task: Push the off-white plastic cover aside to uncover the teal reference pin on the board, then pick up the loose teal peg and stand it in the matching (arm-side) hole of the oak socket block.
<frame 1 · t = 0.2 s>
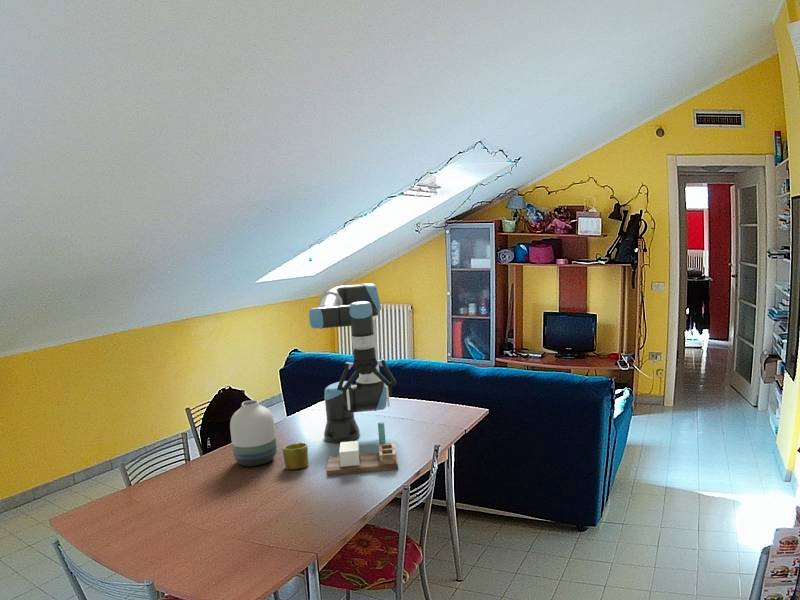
hand: (368, 407, 213), 27 cm above the table, fingers open, 13 cm apart
vase: (256, 461, 244), on the table
mug: (298, 465, 237), on the table
board: (362, 465, 231), on the table
cover: (349, 453, 230), point 5 cm above the table, slide at 0.0 cm
peg: (383, 452, 243), on the table
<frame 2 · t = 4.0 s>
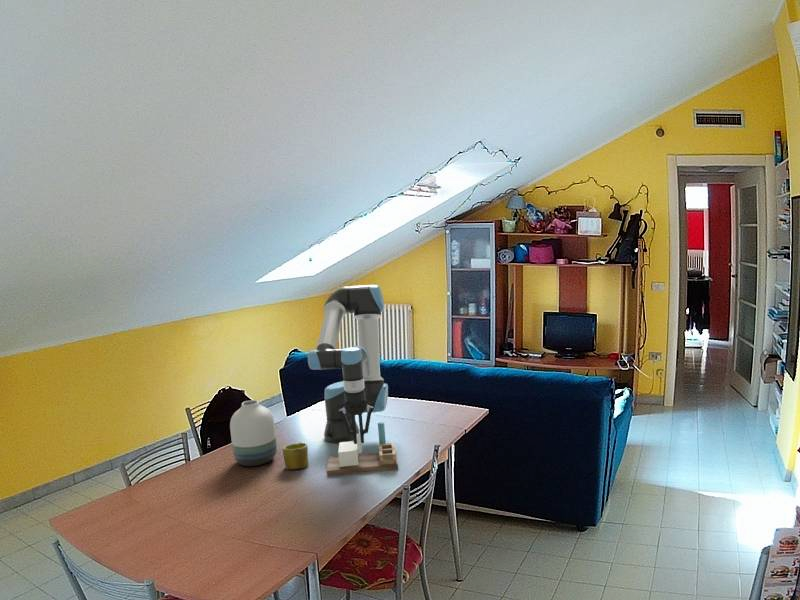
hand: (359, 451, 229), 6 cm above the table, fingers closed
cover: (348, 453, 230), point 5 cm above the table, slide at 0.4 cm, touching gripper
everything else where it was.
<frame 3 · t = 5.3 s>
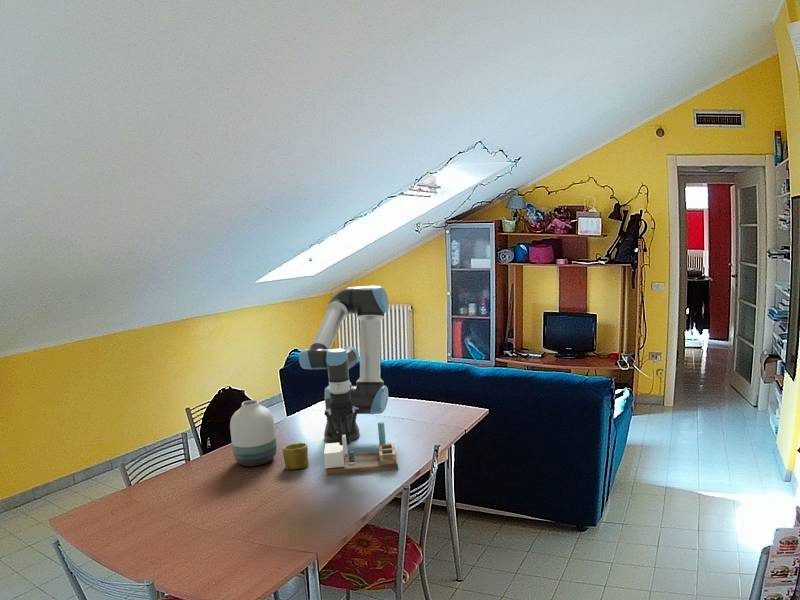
hand: (345, 452, 228), 6 cm above the table, fingers closed
cover: (334, 454, 230), point 5 cm above the table, slide at 5.7 cm, touching gripper
everything else where it was.
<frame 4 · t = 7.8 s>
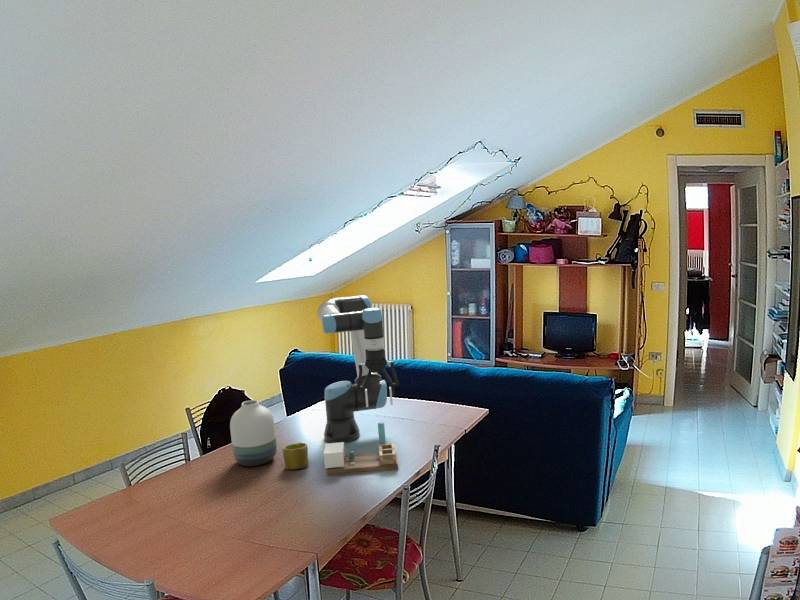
hand: (379, 405, 240), 19 cm above the table, fingers open, 9 cm apart
cover: (334, 454, 230), point 5 cm above the table, slide at 5.7 cm
everything else where it was.
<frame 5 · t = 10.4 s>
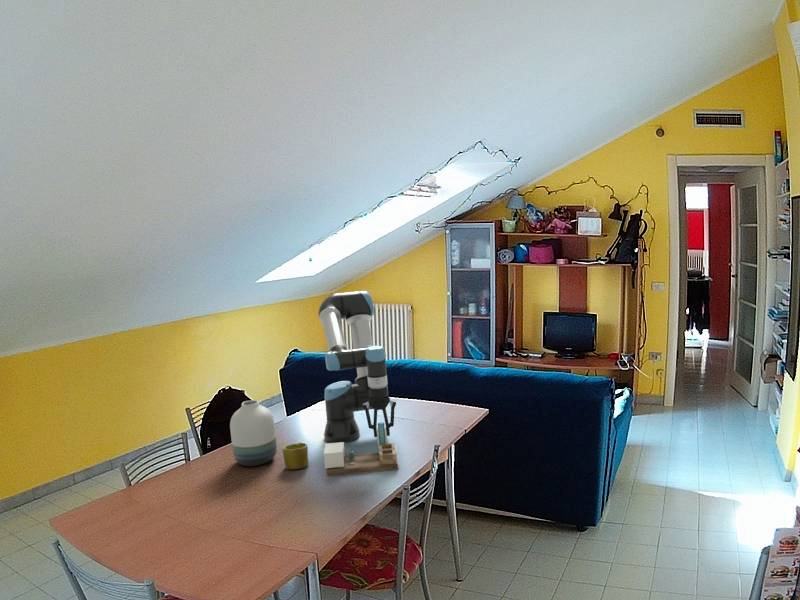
hand: (382, 444, 242), 4 cm above the table, fingers closed on peg, 2 cm apart
peg: (383, 452, 243), on the table, touching gripper
everything else where it was.
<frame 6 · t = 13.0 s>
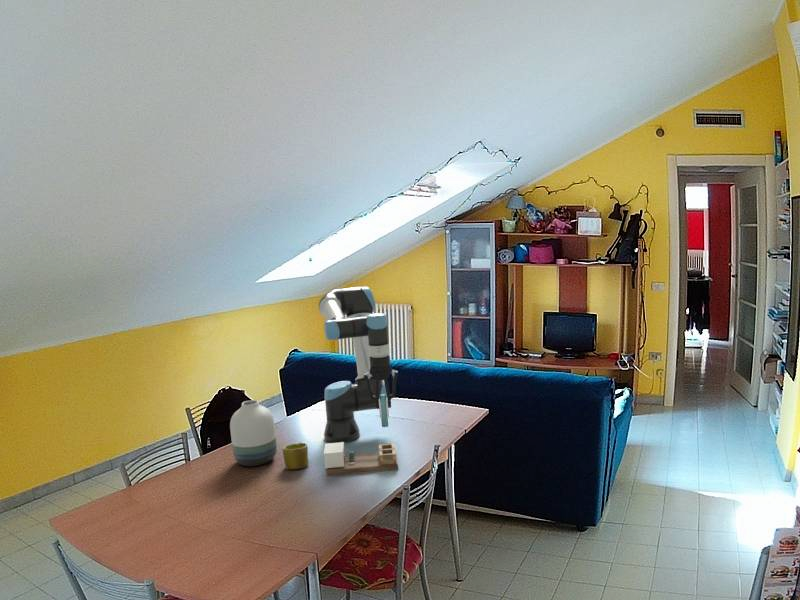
hand: (384, 416, 232), 18 cm above the table, fingers closed on peg, 2 cm apart
peg: (385, 426, 232), point 14 cm above the table, touching gripper
everything else where it was.
when the fingers open (7 cm above the table, at t = 15.4 s): peg drops 1 cm, resting on board.
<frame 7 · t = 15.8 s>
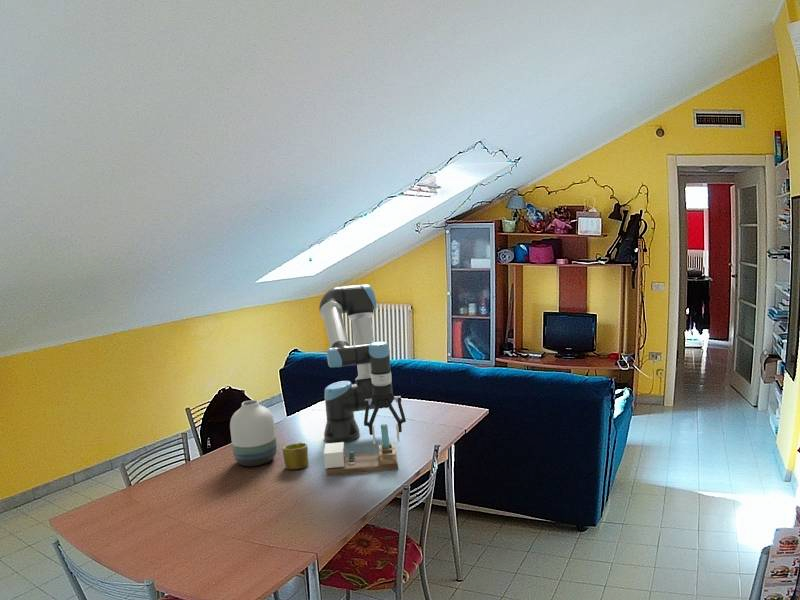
hand: (386, 441, 233), 8 cm above the table, fingers open, 8 cm apart
peg: (387, 455, 234), point 2 cm above the table, touching board
everything else where it was.
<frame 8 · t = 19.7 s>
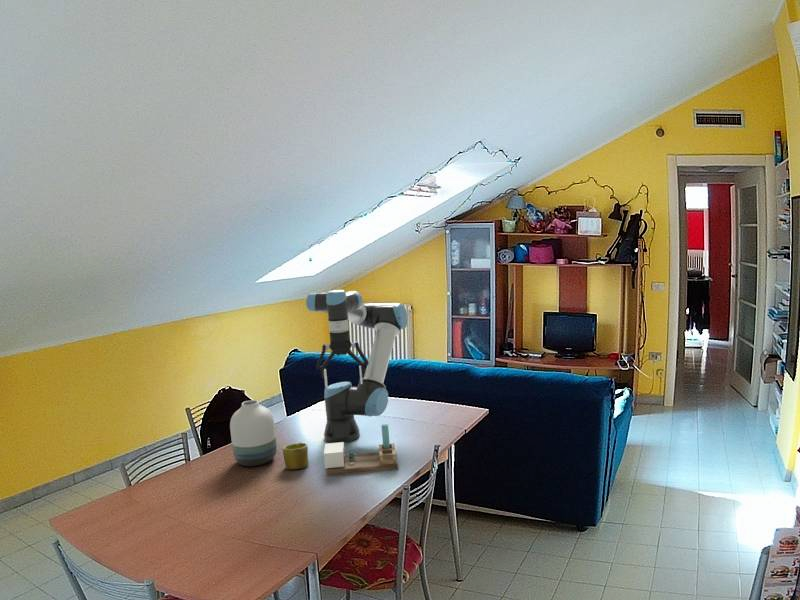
hand: (344, 384, 238), 29 cm above the table, fingers open, 13 cm apart
nothing on the table moved.
at the end: cover slide at 5.7 cm; peg 0.1 cm from the target spot on the board, point 2.0 cm above the board's base; peg tilted 0° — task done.
